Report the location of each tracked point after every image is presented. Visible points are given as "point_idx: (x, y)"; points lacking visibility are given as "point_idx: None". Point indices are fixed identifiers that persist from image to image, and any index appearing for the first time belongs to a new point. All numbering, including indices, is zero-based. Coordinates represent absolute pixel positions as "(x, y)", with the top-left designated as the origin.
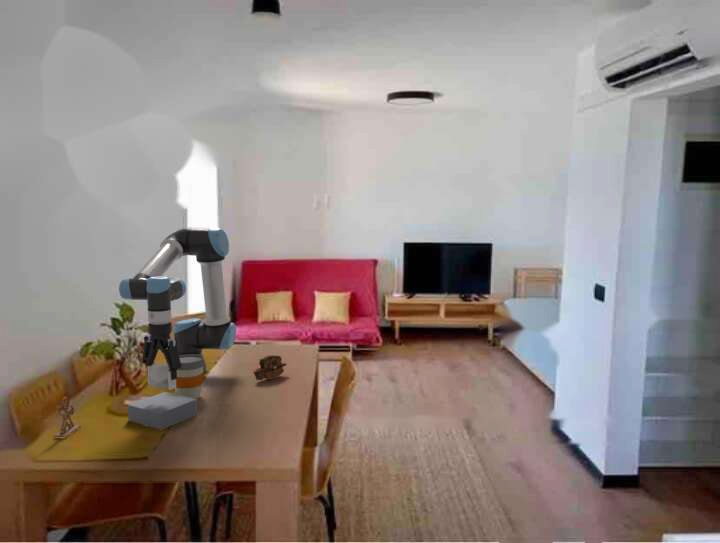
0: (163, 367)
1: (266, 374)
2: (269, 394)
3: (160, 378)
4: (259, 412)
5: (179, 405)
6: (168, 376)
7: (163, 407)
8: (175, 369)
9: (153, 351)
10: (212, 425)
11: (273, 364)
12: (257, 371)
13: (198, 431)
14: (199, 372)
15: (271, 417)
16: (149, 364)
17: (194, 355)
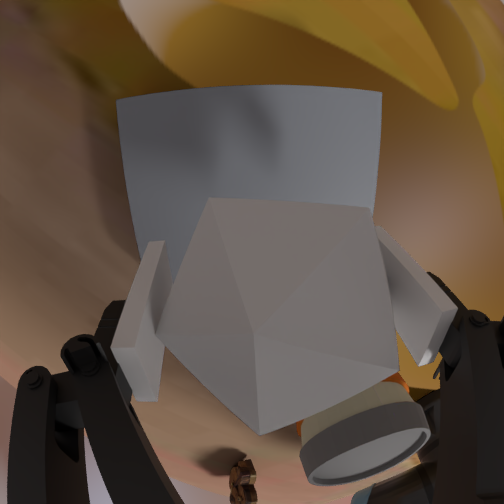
0: (240, 373)
1: (236, 474)
2: (157, 435)
3: (199, 248)
4: (60, 366)
5: (138, 230)
6: (140, 304)
7: (179, 163)
8: (29, 369)
9: (467, 490)
10: (44, 245)
11: (231, 496)
12: (244, 477)
13: (29, 184)
14: (301, 436)
15: (19, 355)
16: (455, 337)
17: (371, 474)
